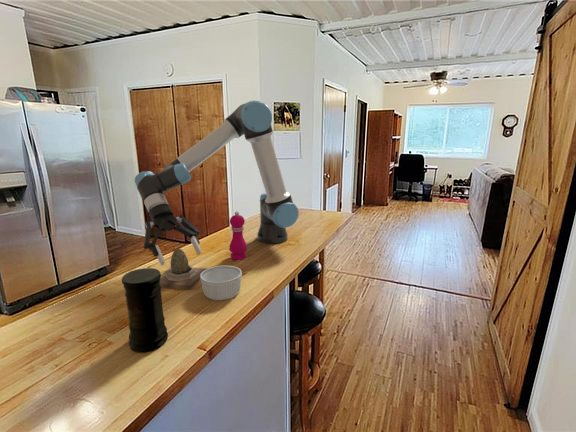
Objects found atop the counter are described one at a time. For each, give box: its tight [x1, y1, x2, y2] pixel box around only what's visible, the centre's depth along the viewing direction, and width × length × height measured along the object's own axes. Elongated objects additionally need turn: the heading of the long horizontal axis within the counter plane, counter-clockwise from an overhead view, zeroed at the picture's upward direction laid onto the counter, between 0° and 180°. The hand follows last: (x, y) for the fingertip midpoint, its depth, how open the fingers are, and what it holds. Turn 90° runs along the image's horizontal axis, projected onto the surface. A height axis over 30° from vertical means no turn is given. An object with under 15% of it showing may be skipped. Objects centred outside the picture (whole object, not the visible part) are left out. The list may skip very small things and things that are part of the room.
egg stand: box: [160, 264, 207, 291], centre depth 112 cm, size 14×14×4 cm
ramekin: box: [199, 265, 243, 301], centre depth 102 cm, size 13×13×7 cm
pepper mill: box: [229, 211, 248, 261], centre depth 130 cm, size 7×7×20 cm
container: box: [121, 267, 169, 353], centre depth 76 cm, size 9×9×18 cm
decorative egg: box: [170, 248, 190, 275], centre depth 111 cm, size 6×6×10 cm
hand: (182, 258), depth 109 cm, fingers open, 13 cm apart
